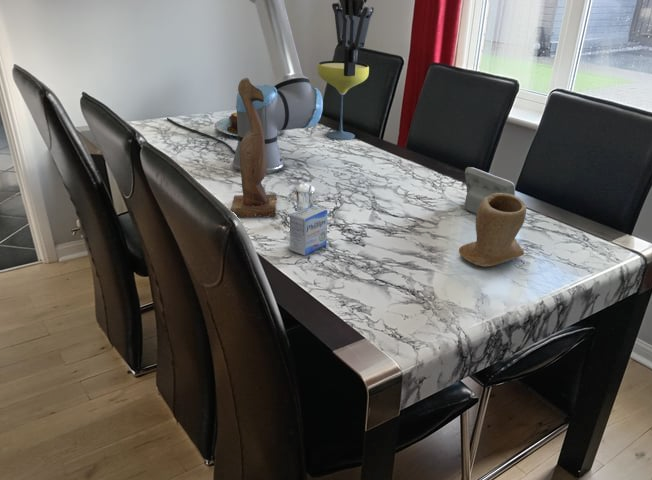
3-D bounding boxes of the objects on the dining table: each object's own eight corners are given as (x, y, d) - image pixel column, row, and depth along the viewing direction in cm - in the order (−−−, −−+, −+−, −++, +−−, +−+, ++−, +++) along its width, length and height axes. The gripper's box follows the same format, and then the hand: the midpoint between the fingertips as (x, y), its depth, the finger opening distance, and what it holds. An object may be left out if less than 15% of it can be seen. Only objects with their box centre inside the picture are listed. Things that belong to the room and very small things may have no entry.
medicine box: (304, 256, 125) (305, 219, 121) (289, 250, 127) (289, 213, 123) (327, 245, 131) (328, 209, 127) (312, 239, 133) (312, 204, 129)
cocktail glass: (335, 127, 225) (338, 59, 213) (374, 136, 216) (379, 65, 204) (306, 135, 212) (307, 63, 200) (345, 145, 203) (349, 70, 191)
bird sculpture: (279, 218, 143) (277, 83, 127) (231, 218, 141) (223, 82, 126) (276, 201, 153) (275, 74, 137) (231, 202, 151) (225, 73, 135)
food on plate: (293, 127, 221) (294, 110, 218) (271, 144, 200) (271, 125, 197) (231, 120, 226) (231, 103, 222) (203, 135, 204) (202, 117, 201)
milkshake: (301, 225, 140) (301, 186, 135) (292, 217, 144) (292, 179, 139) (318, 223, 142) (319, 184, 137) (309, 215, 146) (310, 177, 141)
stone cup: (487, 277, 121) (499, 211, 114) (450, 255, 130) (460, 191, 122) (537, 263, 128) (552, 199, 121) (499, 242, 137) (511, 182, 130)
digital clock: (518, 221, 150) (526, 181, 145) (490, 225, 146) (498, 185, 141) (480, 199, 162) (486, 162, 157) (454, 203, 159) (459, 165, 154)
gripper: (324, -29, 141) (322, 72, 153) (361, -26, 133) (356, 81, 145) (347, -28, 146) (343, 70, 158) (384, -25, 138) (376, 78, 149)
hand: (349, 75), depth 151 cm, fingers closed
